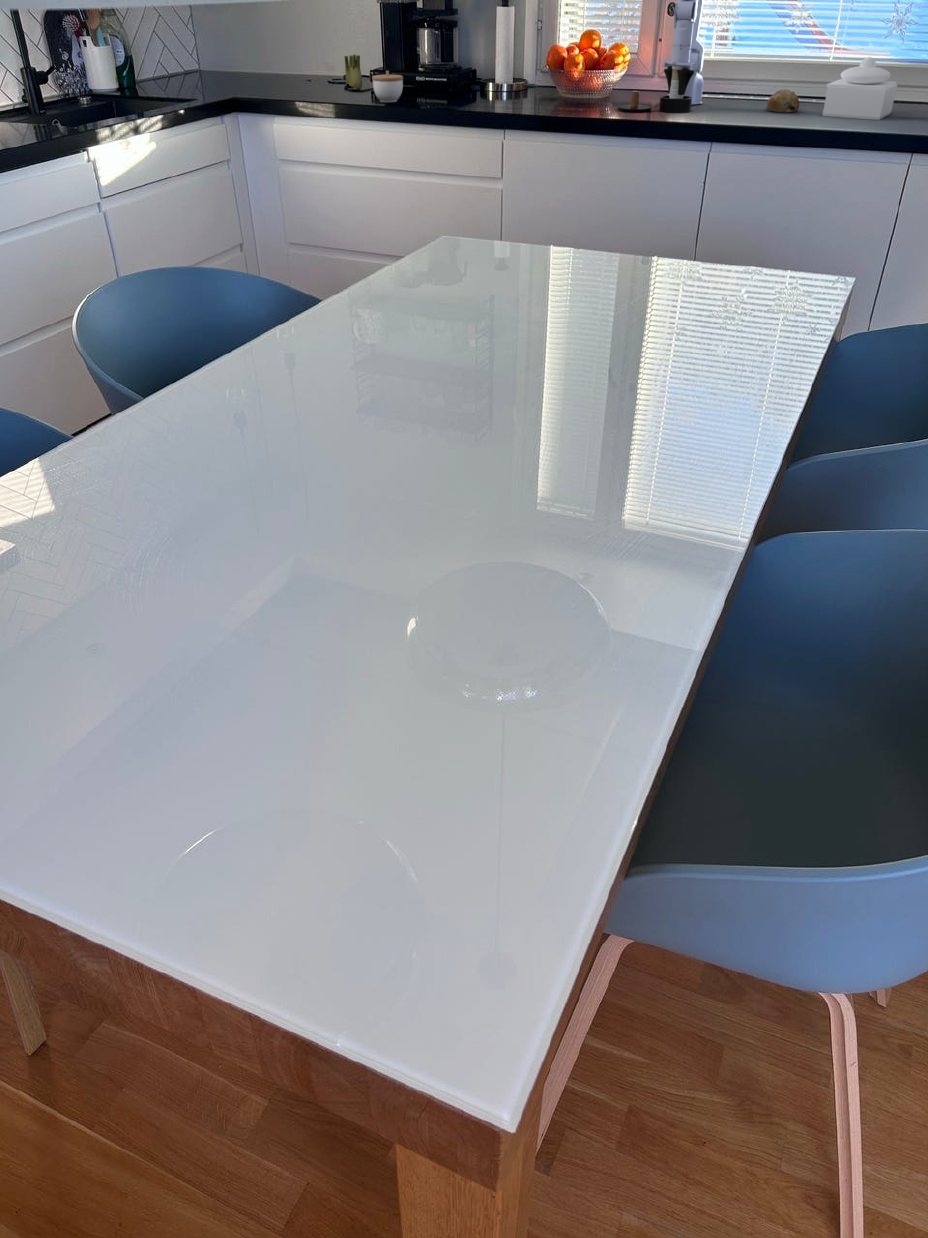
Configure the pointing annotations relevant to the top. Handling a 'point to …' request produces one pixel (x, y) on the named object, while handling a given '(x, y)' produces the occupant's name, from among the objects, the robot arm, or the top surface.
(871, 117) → the white lidded box
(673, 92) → the sprinkles bottle
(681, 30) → the robot arm
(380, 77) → the sugar bowl
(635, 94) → the pan lid
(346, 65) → the fennel bulb
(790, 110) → the bread roll
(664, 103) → the pan
